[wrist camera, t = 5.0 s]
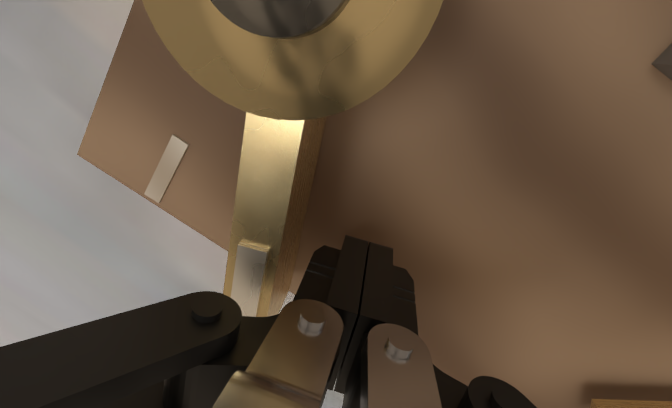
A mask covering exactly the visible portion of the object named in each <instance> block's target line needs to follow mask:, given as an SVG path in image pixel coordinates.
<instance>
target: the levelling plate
mask: <svg viewBox="0 0 672 408" xmlns="http://www.w3.org/2000/svg"><path fill="white" fill-rule="evenodd" d="M245 119H246V112H245V111H242V110H240V109H238V108H236V107H234V106H232V105H230V104H228V103H225V102H224V101H222V100H221V99H219V98H218V97H216V96H214V95H213V94H211V93H210V92H208V91H207V90H206V89H205V88H204V87H202V86H201V85H200V84H199V83H197V82H196V81H195V80H194V79H193V78H192V77H191V76H190V75H189V74H188V73H187V72H186V71H185V70H184V69H183V68H182V67H181V66H180V65H179V63H178V62H177V61H176V60H175V58H174V57H173V56H172V55H171V53H170V52H169V51H168V49H167V48H166V46H165V45H164V43H163V42H162V40H161V38H160V37H159V35H158V33H157V32H156V30H155V28H154V26H153V24H152V22H151V20H150V18H149V16H148V14H147V12H146V10H145V7H144V4H143V1H142V0H134V3H133V5H132V8H131V11H130V13H129V16H128V19H127V22H126V24H125V27H124V30H123V32H122V35H121V38H120V40H119V43H118V46H117V48H116V51H115V54H114V57H113V59H112V62H111V65H110V67H109V70H108V73H107V75H106V78H105V81H104V83H103V86H102V89H101V92H100V94H99V97H98V100H97V102H96V105H95V108H94V110H93V113H92V116H91V118H90V121H89V124H88V127H87V129H86V132H85V135H84V137H83V140H82V143H81V145H80V148H79V151H78V153H77V155H79V156H80V157H82V158H83V159H85V160H87V161H88V162H90V163H91V164H93V165H94V166H96V167H97V168H99V169H101V170H102V171H104V172H105V173H107V174H108V175H110V176H111V177H113V178H115V179H116V180H118V181H119V182H121V183H122V184H124V185H125V186H127V187H129V188H130V189H132V190H133V191H135V192H136V193H138V194H139V195H141V196H143V197H144V198H146V199H147V200H149V201H150V202H152V203H153V204H155V205H157V206H158V207H160V208H161V209H163V210H164V211H166V212H167V213H169V214H171V215H172V216H174V217H175V218H177V219H178V220H180V221H182V222H183V223H185V224H186V225H188V226H189V227H191V228H192V229H194V230H196V231H197V232H199V233H200V234H202V235H203V236H205V237H206V238H208V239H210V240H211V241H213V242H214V243H216V244H217V245H219V246H220V247H222V248H224V249H225V250H227V251H228V252H229V244H230V236H231V228H232V221H233V213H234V205H235V197H236V189H237V182H238V174H239V166H240V158H241V150H242V142H243V135H244V127H245ZM345 235H349V236H352V237H355V238H359V239H362V240H366V241H368V244H369V242H373V243H376V244H380V245H383V246H387V247H390V248H393V265H394V266H398V267H401V268H404V269H406V270H407V271H408V273H409V274H410V276H411V277H412V279H413V280H414V290H415V292H414V294H415V304H416V313H417V325H418V336H419V337H420V338H421V339H422V340H423V341H424V342H425V344H426V345H427V347H428V349H429V351H430V354H431V359H432V363H433V364H434V365H435V366H436V367H437V368H438V369H440V370H441V371H443V372H444V373H446V374H447V375H449V376H451V377H453V378H454V379H456V380H458V381H460V382H461V383H463V384H465V385H467V386H468V385H469V383H470V382H471V381H472V380H473V379H474V378H476V377H479V376H491V377H494V378H498V379H500V380H503V381H505V382H507V383H508V384H510V385H512V386H513V387H515V388H516V389H517V390H519V391H520V392H521V393H522V394H523V395H524V396H525V397H526V398H527V399H529V400H530V401H531V402H532V403H533V404H534V405H535V406H536V407H537V408H590V406H591V400H592V399H615V400H647V401H672V0H443V2H442V5H441V8H440V11H439V14H438V16H437V18H436V20H435V22H434V24H433V26H432V28H431V30H430V32H429V34H428V36H427V37H426V39H425V41H424V42H423V44H422V45H421V47H420V48H419V50H418V51H417V53H416V54H415V56H414V57H413V58H412V59H411V61H410V62H409V63H408V64H407V65H406V67H405V68H404V69H403V70H402V71H401V73H399V74H398V75H397V76H396V77H395V78H394V79H393V80H392V81H391V82H390V83H389V84H388V85H387V86H386V87H384V88H383V89H382V90H380V91H379V92H377V93H376V94H375V95H373V96H372V97H370V98H369V99H367V100H365V101H364V102H362V103H360V104H358V105H356V106H354V107H352V108H350V109H348V110H345V111H342V112H340V113H337V114H334V115H331V116H327V117H326V122H325V126H324V131H323V136H322V141H321V145H320V150H319V155H318V159H317V164H316V169H315V174H314V178H313V183H312V188H311V193H310V197H309V202H308V207H307V211H306V216H305V221H304V226H303V230H302V235H301V240H300V244H299V249H298V254H297V259H296V263H295V268H294V273H293V277H292V282H291V286H290V288H289V291H290V292H292V293H294V294H295V295H296V292H297V290H298V288H299V285H300V283H301V281H302V278H303V276H304V274H305V271H306V269H307V267H308V264H309V262H310V260H311V257H312V255H313V253H314V251H315V250H317V249H319V248H320V247H322V246H324V245H326V246H329V247H333V248H336V249H339V250H341V249H342V245H343V242H344V238H345Z"/></svg>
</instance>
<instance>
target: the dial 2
mask: <svg viewBox="0 0 672 408" xmlns="http://www.w3.org/2000/svg"><path fill="white" fill-rule="evenodd" d="M590 408H672V401H647V400H615V399H592V400H591V406H590Z"/></svg>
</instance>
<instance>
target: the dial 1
mask: <svg viewBox="0 0 672 408" xmlns="http://www.w3.org/2000/svg"><path fill="white" fill-rule="evenodd" d="M142 1H143V4H144V7H145V10H146V12H147V14H148V16H149V18H150V20H151V22H152V24H153V26H154V28H155V30H156V32H157V33H158V35H159V37H160V38H161V40H162V42H163V43H164V45H165V46H166V48H167V49H168V51H169V52H170V53H171V55H172V56H173V57H174V58H175V60H176V61H177V62H178V63H179V65H180V66H181V67H182V68H183V69H184V70H185V71H186V72H187V73H188V74H189V75H190V76H191V77H192V78H193V79H194V80H195V81H196V82H197V83H199V84H200V85H201V86H202V87H204V88H205V89H206V90H207V91H208V92H210V93H211V94H213V95H214V96H216V97H218V98H219V99H221V100H222V101H224V102H225V103H228V104H230V105H232V106H234V107H236V108H238V109H240V110H242V111H245V112H246V119H245V127H244V135H243V142H242V150H241V158H240V166H239V174H238V182H237V189H236V197H235V205H234V213H233V221H232V228H231V236H230V244H229V252H228V260H227V267H226V275H225V283H224V291H223V294H224V295H226V296H228V297H230V298H232V299H233V300H235V301H236V302H237V303H238V305H239V306H240V308H241V311H242V316H251V317H267V316H273V315H277V314H279V311H280V309H281V307H282V304H283V302H284V300H285V298H286V295H287V293H288V291H289V288H290V286H291V282H292V277H293V273H294V268H295V263H296V259H297V254H298V249H299V244H300V240H301V235H302V230H303V226H304V221H305V216H306V211H307V207H308V202H309V197H310V193H311V188H312V183H313V178H314V174H315V169H316V164H317V159H318V155H319V150H320V145H321V141H322V136H323V131H324V126H325V122H326V117H327V116H331V115H334V114H337V113H340V112H342V111H345V110H348V109H350V108H352V107H354V106H356V105H358V104H360V103H362V102H364V101H365V100H367V99H369V98H370V97H372V96H373V95H375V94H376V93H377V92H379V91H380V90H382V89H383V88H384V87H386V86H387V85H388V84H389V83H390V82H391V81H392V80H393V79H394V78H395V77H396V76H397V75H398V74H399V73H401V71H402V70H403V69H404V68H405V67H406V65H407V64H408V63H409V62H410V61H411V59H412V58H413V57H414V56H415V54H416V53H417V51H418V50H419V48H420V47H421V45H422V44H423V42H424V41H425V39H426V37H427V36H428V34H429V32H430V30H431V28H432V26H433V24H434V22H435V20H436V18H437V16H438V14H439V11H440V8H441V5H442V2H443V0H142Z"/></svg>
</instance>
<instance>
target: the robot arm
mask: <svg viewBox="0 0 672 408" xmlns="http://www.w3.org/2000/svg"><path fill="white" fill-rule="evenodd" d="M414 292H415V290H414V280H413V279H412V277H411V276H410V274H409V273H408V271H407V270H406V269H404V268H401V267H398V266H394V265H393V248H390V247H387V246H383V245H380V244H376V243H373V242H369V244H368V241H366V240H362V239H359V238H355V237H352V236H349V235H345V238H344V242H343V245H342V249H341V250H339V249H336V248H333V247H329V246H326V245H324V246H322V247H320V248H319V249H317V250H315V251H314V253H313V255H312V257H311V260H310V262H309V264H308V267H307V269H306V271H305V274H304V276H303V278H302V281H301V283H300V285H299V288H298V290H297V292H296V295H295V297H294V300H293V301H292V302H290V303H288V304H287V305H285V306H284V308H283V309H282V311H281V312H280V313H279V314H277V315H273V316H267V317H251V316H242V311H241V308H240V306H239V305H238V303H237V302H236V301H235V300H233V299H232V298H230V297H228V296H226V295H224V294H221V293H217V292H210V291H203V292H195V293H191V294H187V295H184V296H180V297H177V298H173V299H170V300H166V301H163V302H159V303H155V304H152V305H148V306H145V307H141V308H138V309H134V310H131V311H127V312H123V313H120V314H116V315H113V316H109V317H106V318H102V319H99V320H95V321H91V322H88V323H84V324H81V325H77V326H74V327H70V328H67V329H63V330H59V331H56V332H52V333H49V334H45V335H42V336H38V337H35V338H31V339H27V340H24V341H20V342H17V343H13V344H10V345H6V346H3V347H0V408H321V406H322V404H323V401H324V398H325V394H326V391H327V389H329V390H333V387H334V384H335V381H336V384H335V390H334V391H336V392H339V393H343V394H344V400H343V406H342V408H537V407H536V406H535V405H534V404H533V403H532V402H531V401H530V400H529V399H527V398H526V397H525V396H524V395H523V394H522V393H521V392H520V391H519V390H517V389H516V388H515V387H513V386H512V385H510V384H508V383H507V382H505V381H503V380H500V379H498V378H494V377H491V376H479V377H476V378H474V379H473V380H472V381H471V382H470V383H469V385H468V386H467V385H465V384H463V383H461V382H460V381H458V380H456V379H454V378H453V377H451V376H449V375H447V374H446V373H444V372H443V371H441V370H440V369H438V368H437V367H436V366H435V365H434V364H433V363H432V359H431V354H430V351H429V349H428V347H427V345H426V344H425V342H424V341H423V340H422V339H421V338H420V337H419V336H418V325H417V313H416V304H415V294H414ZM336 378H337V379H336Z"/></svg>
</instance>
